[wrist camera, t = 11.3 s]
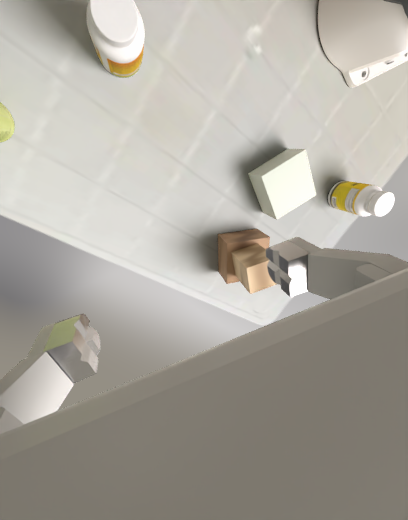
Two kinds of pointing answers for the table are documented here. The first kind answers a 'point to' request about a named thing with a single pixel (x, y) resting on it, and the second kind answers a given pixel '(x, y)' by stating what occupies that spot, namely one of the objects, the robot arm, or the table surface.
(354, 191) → the supplement bottle
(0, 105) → the tube
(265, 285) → the oak block
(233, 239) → the walnut block
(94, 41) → the supplement bottle
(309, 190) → the white block
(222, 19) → the table surface
